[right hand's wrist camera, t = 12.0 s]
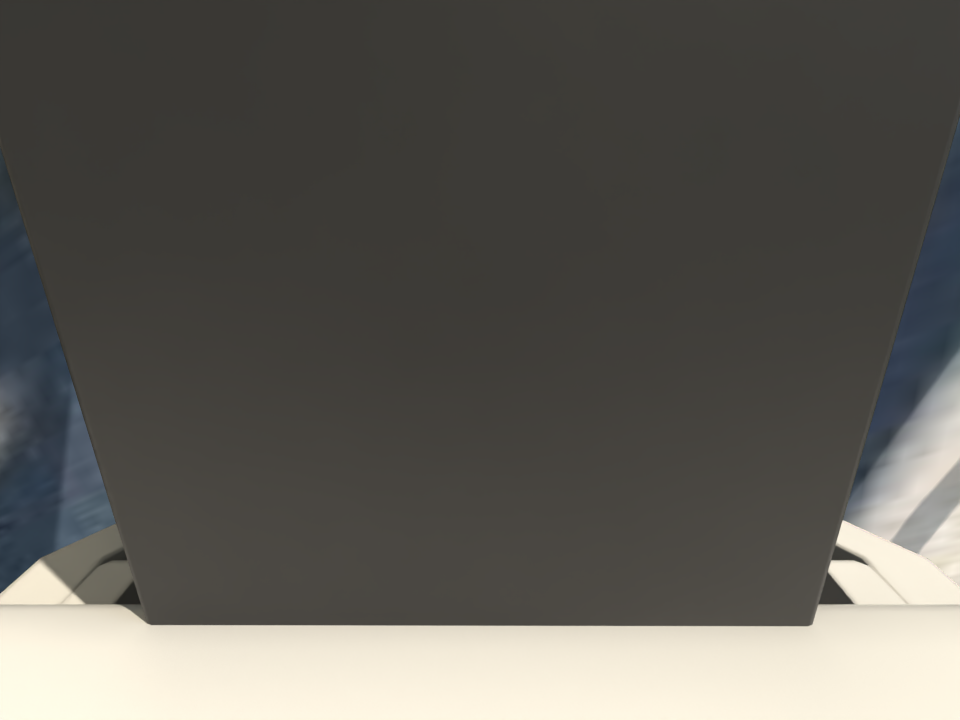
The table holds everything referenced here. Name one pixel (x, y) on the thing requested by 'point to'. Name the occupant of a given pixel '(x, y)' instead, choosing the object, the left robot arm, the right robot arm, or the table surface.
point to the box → (478, 292)
